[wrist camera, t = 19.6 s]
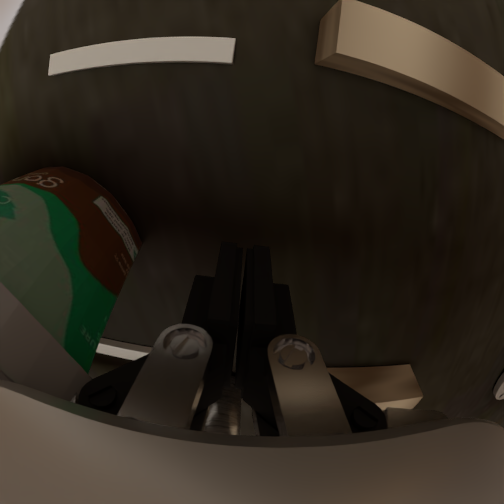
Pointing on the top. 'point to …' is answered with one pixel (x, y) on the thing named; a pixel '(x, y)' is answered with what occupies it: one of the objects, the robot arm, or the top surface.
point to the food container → (58, 276)
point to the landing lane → (141, 53)
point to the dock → (421, 84)
